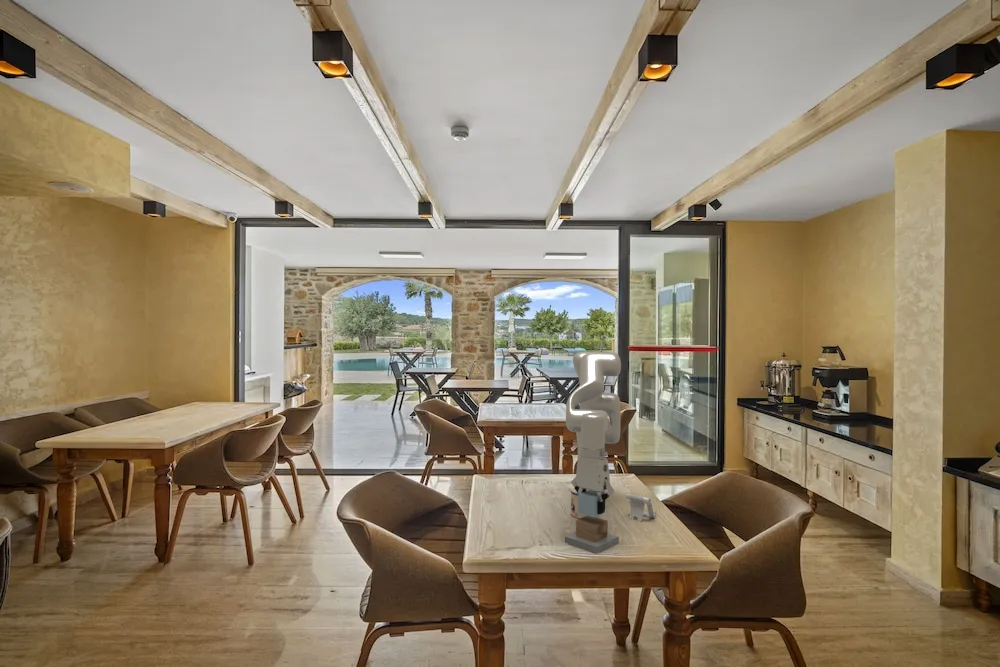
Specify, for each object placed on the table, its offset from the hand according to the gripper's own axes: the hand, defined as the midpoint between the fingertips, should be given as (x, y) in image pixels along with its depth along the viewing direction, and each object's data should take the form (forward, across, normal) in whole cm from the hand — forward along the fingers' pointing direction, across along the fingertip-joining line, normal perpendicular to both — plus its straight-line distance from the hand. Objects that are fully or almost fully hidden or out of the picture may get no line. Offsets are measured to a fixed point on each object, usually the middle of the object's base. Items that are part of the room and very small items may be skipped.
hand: (591, 510), depth 164 cm
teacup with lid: (+10, +16, -18) cm, 26 cm away
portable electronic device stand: (+10, +1, -32) cm, 34 cm away
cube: (+1, 0, 0) cm, 1 cm away
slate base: (+10, 0, 0) cm, 10 cm away
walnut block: (+8, 0, 0) cm, 8 cm away
